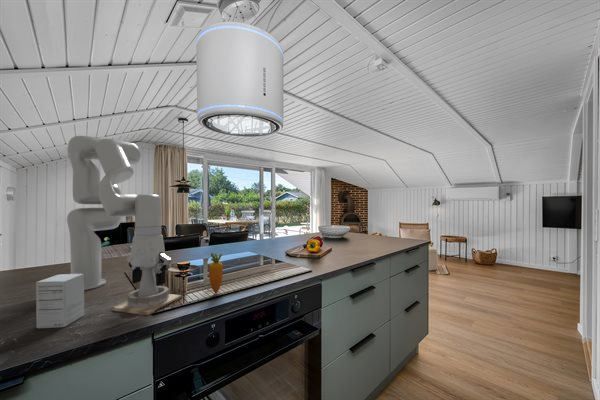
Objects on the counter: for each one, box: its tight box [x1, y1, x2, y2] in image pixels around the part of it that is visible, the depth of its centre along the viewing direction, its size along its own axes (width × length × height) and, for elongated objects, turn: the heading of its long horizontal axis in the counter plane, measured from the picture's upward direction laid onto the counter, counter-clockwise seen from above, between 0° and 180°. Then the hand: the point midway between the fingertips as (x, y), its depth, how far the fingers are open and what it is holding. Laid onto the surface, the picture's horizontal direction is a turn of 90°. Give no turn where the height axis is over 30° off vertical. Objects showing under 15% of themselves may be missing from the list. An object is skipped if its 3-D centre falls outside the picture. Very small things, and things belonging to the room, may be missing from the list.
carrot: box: [208, 252, 224, 294], centre depth 93 cm, size 5×5×15 cm
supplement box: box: [35, 273, 85, 329], centre depth 72 cm, size 7×7×13 cm
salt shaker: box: [138, 267, 158, 297], centre depth 84 cm, size 6×6×13 cm
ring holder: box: [111, 285, 183, 316], centre depth 84 cm, size 14×14×4 cm
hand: (148, 283), depth 84 cm, fingers open, 9 cm apart
